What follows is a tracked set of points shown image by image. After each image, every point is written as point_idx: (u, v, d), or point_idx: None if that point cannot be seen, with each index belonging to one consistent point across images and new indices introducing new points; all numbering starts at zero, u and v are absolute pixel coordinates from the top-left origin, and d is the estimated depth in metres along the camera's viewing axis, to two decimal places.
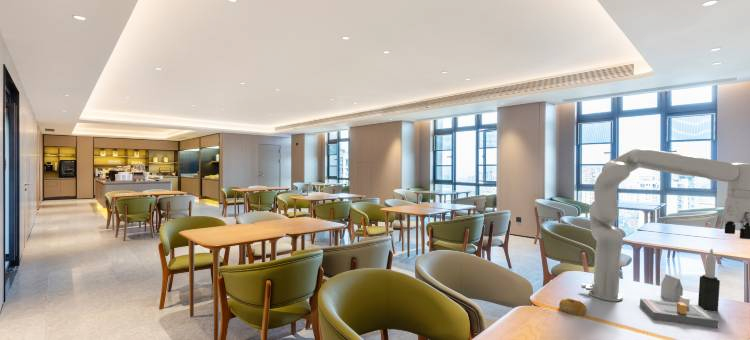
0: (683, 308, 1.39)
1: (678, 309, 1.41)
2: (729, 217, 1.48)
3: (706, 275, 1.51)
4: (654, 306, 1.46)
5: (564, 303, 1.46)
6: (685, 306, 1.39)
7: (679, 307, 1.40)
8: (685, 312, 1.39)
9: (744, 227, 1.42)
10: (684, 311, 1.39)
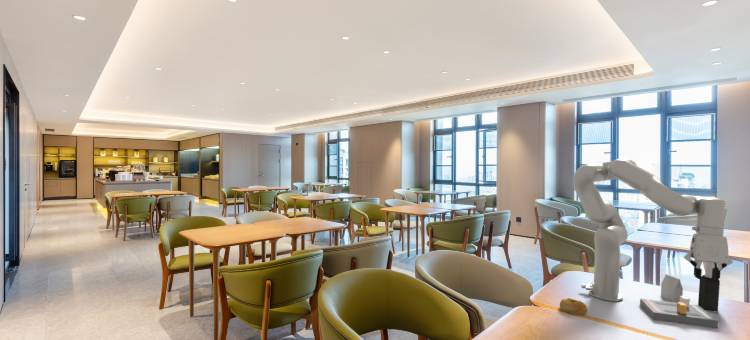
0: (683, 308, 1.39)
1: (678, 309, 1.41)
2: (711, 258, 1.34)
3: (706, 275, 1.51)
4: (654, 306, 1.46)
5: (565, 303, 1.47)
6: (685, 306, 1.39)
7: (679, 307, 1.40)
8: (685, 312, 1.39)
9: None
10: (684, 311, 1.39)
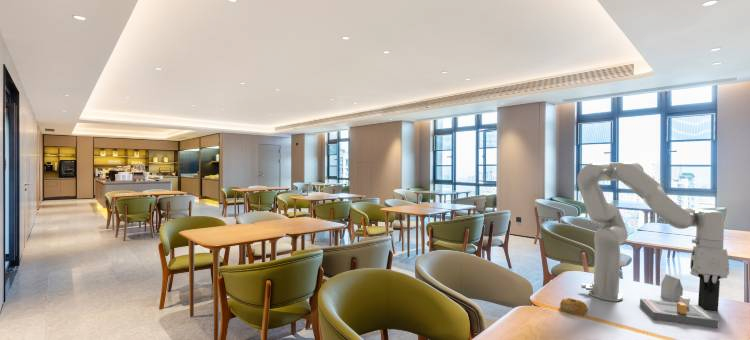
0: (683, 308, 1.39)
1: (678, 309, 1.41)
2: (712, 271, 1.34)
3: None
4: (654, 306, 1.46)
5: (565, 303, 1.47)
6: (685, 306, 1.39)
7: (679, 307, 1.40)
8: (685, 312, 1.39)
9: None
10: (684, 311, 1.39)
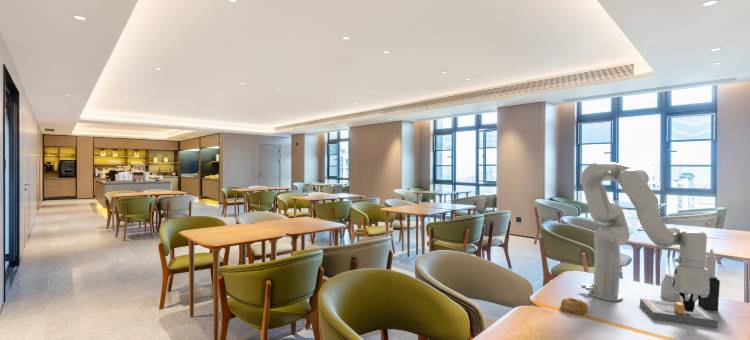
0: (680, 308, 1.39)
1: (675, 309, 1.41)
2: (693, 290, 1.36)
3: None
4: (654, 306, 1.46)
5: (566, 302, 1.47)
6: (682, 306, 1.39)
7: (677, 307, 1.40)
8: (682, 312, 1.39)
9: None
10: (681, 311, 1.39)
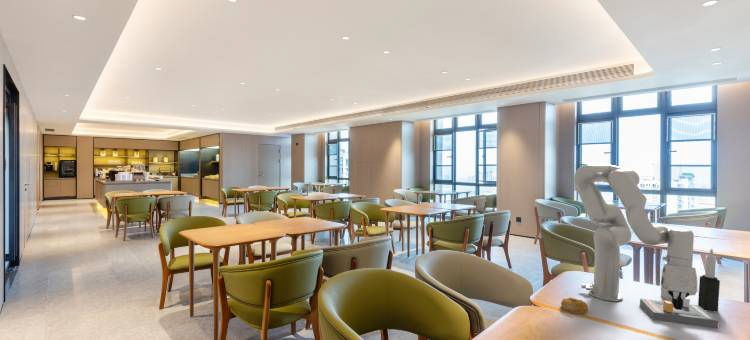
0: (669, 306, 1.40)
1: (664, 307, 1.42)
2: (681, 288, 1.38)
3: (706, 275, 1.51)
4: (654, 306, 1.46)
5: (566, 302, 1.47)
6: (671, 304, 1.40)
7: (666, 305, 1.41)
8: (671, 310, 1.40)
9: None
10: (670, 309, 1.40)
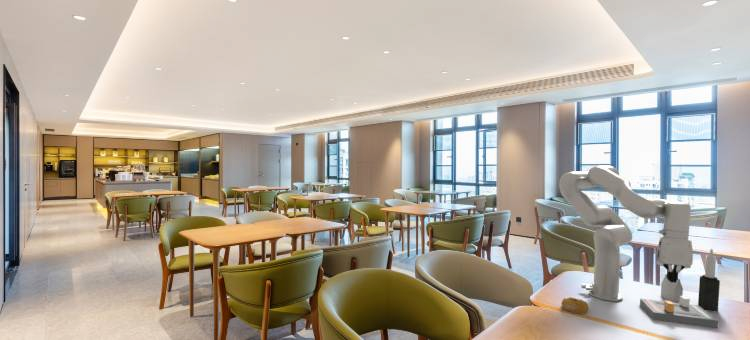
0: (670, 306, 1.40)
1: (665, 307, 1.42)
2: (677, 261, 1.38)
3: (706, 275, 1.51)
4: (654, 306, 1.46)
5: (567, 302, 1.48)
6: (672, 304, 1.40)
7: (667, 305, 1.41)
8: (672, 310, 1.40)
9: None
10: (671, 309, 1.40)
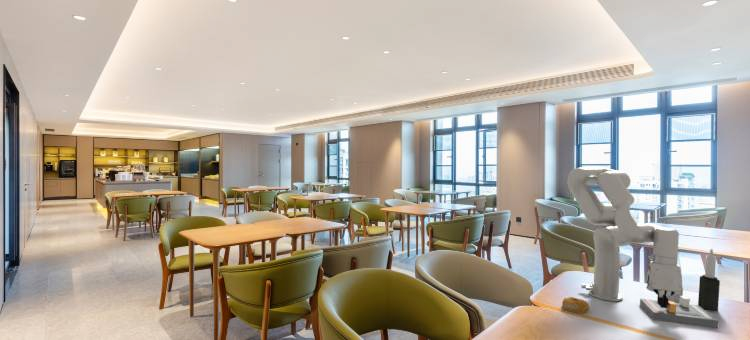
0: (672, 307, 1.40)
1: (667, 308, 1.42)
2: (666, 287, 1.39)
3: (706, 275, 1.51)
4: (654, 306, 1.46)
5: (567, 301, 1.48)
6: (674, 305, 1.40)
7: (669, 306, 1.41)
8: (674, 311, 1.40)
9: None
10: (673, 310, 1.40)
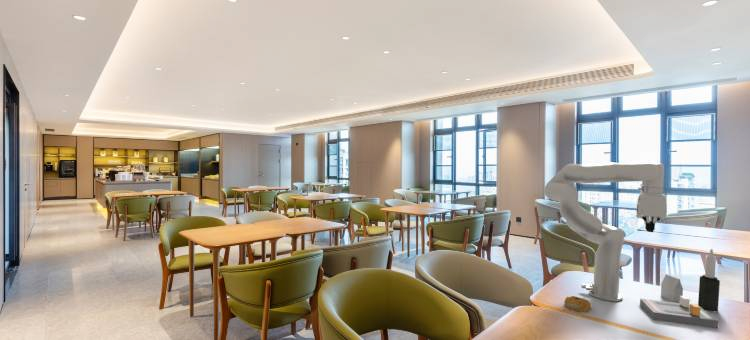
0: (696, 310, 1.37)
1: (691, 311, 1.39)
2: (653, 213, 1.61)
3: (706, 275, 1.51)
4: (654, 306, 1.46)
5: (570, 300, 1.49)
6: (698, 308, 1.37)
7: (692, 309, 1.38)
8: (698, 314, 1.37)
9: None
10: (697, 313, 1.37)
